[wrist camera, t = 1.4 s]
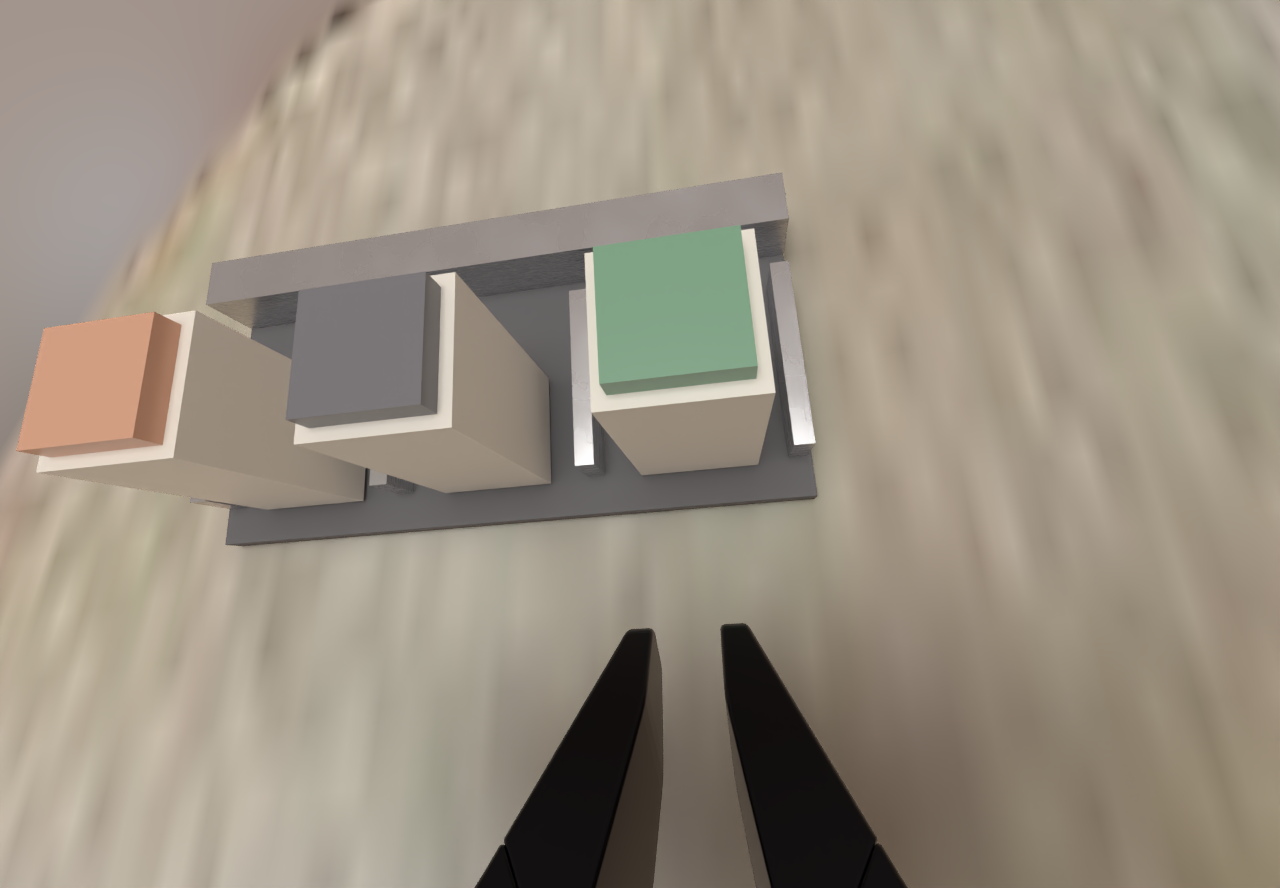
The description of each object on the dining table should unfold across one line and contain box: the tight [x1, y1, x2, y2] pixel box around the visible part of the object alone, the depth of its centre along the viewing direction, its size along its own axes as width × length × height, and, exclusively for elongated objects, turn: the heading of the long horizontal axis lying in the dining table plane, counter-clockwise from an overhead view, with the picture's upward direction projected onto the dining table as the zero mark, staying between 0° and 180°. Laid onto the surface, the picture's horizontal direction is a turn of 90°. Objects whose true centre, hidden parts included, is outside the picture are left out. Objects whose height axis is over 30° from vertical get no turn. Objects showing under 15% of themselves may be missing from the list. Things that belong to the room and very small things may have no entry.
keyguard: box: [190, 173, 815, 509], centre depth 23 cm, size 10×24×2 cm, turn 94°
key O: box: [16, 311, 366, 510], centre depth 19 cm, size 4×4×9 cm
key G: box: [584, 225, 776, 475], centre depth 17 cm, size 4×4×9 cm
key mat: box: [226, 255, 817, 546], centre depth 24 cm, size 12×24×1 cm, turn 94°
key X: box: [286, 271, 551, 493], centre depth 18 cm, size 4×4×9 cm
